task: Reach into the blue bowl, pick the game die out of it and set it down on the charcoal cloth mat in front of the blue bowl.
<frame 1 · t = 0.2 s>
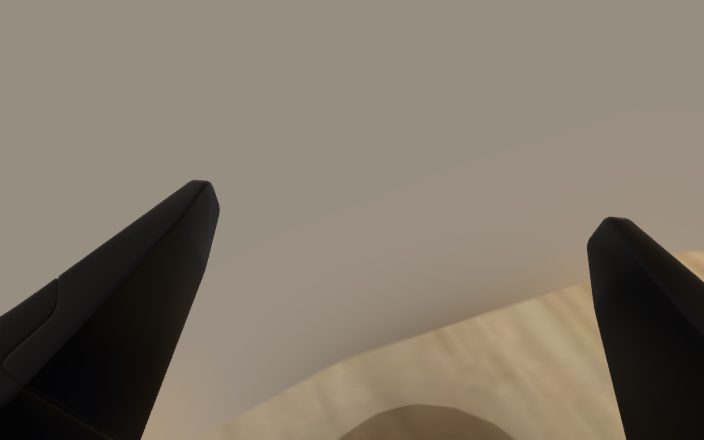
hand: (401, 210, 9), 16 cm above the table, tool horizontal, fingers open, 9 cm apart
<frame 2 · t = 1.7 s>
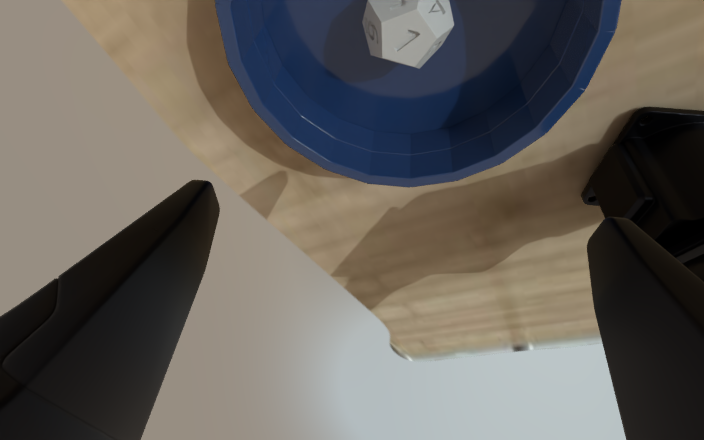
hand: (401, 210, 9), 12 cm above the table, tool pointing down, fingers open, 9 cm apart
game die: (407, 7, 17), resting on blue bowl
blue bowl: (407, 6, 17), on the table
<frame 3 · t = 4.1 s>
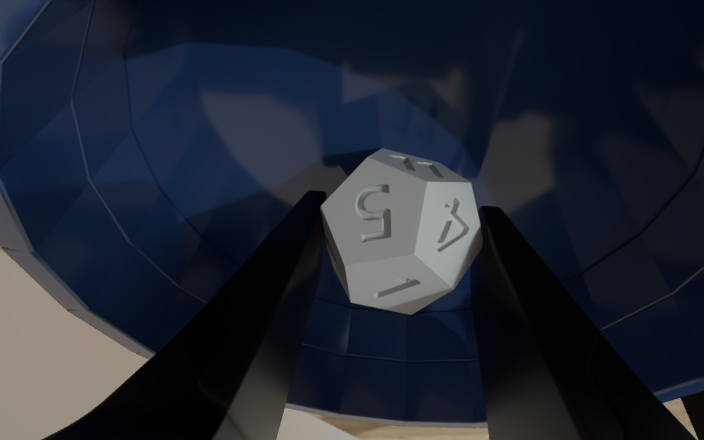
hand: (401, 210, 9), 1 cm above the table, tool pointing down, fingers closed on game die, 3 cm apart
game die: (398, 177, 10), resting on blue bowl, touching gripper
blue bowl: (398, 174, 10), on the table
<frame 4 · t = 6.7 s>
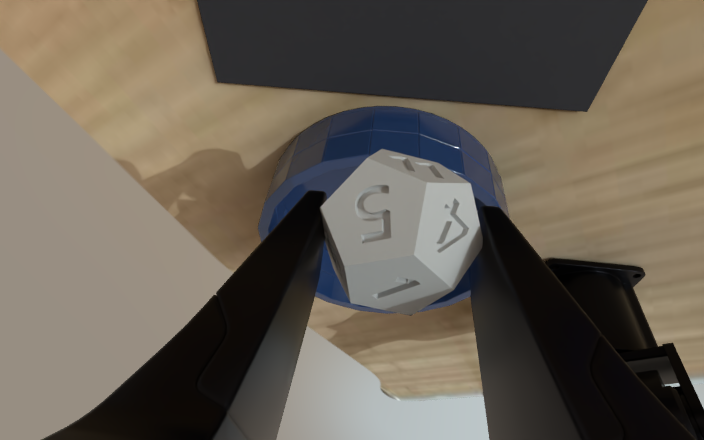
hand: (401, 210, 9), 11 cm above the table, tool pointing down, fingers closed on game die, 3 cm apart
game die: (398, 178, 10), point 10 cm above the table, touching gripper
blue bowl: (384, 202, 25), on the table
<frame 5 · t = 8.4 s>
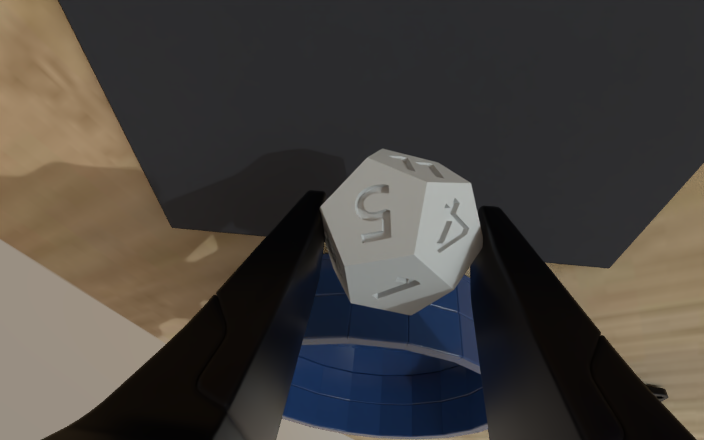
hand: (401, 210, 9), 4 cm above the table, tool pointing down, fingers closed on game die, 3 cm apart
cloth: (402, 110, 12), on the table
game die: (398, 178, 10), point 3 cm above the table, touching gripper
blue bowl: (373, 326, 22), on the table
when the fingers open (1 cm above the table, at t = 9.5 s): game die stays where it is, resting on cloth.
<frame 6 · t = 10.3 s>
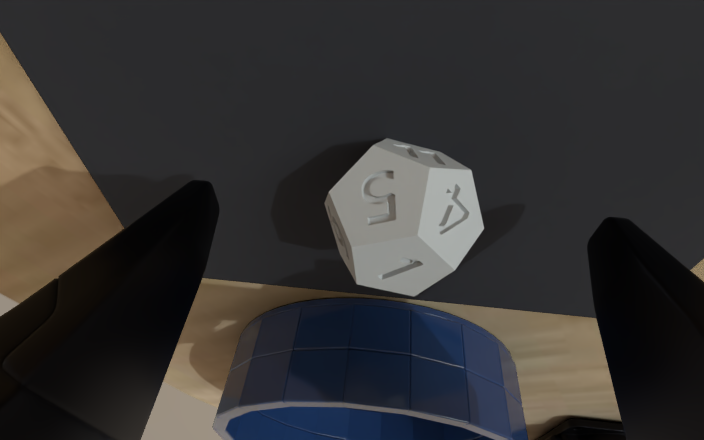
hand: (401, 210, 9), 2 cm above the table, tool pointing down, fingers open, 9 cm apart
cloth: (403, 162, 10), on the table
game die: (401, 167, 10), resting on cloth
blue bowl: (372, 367, 21), on the table
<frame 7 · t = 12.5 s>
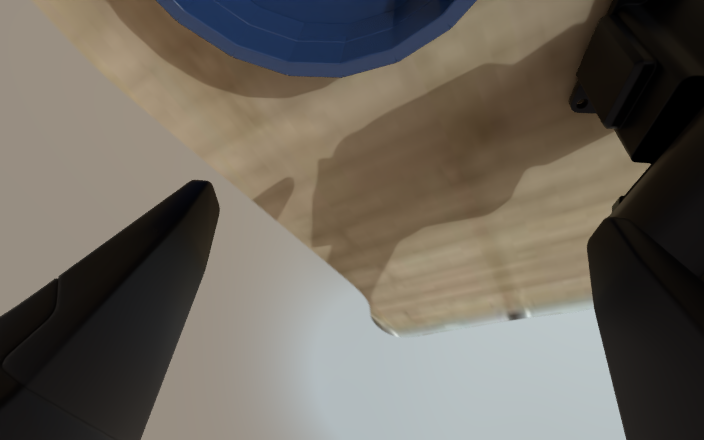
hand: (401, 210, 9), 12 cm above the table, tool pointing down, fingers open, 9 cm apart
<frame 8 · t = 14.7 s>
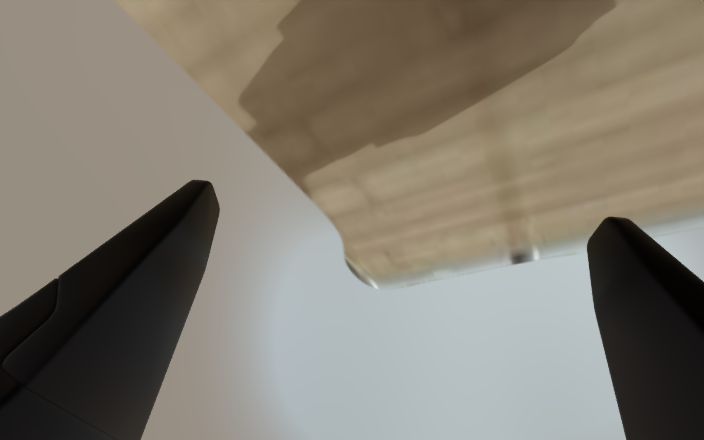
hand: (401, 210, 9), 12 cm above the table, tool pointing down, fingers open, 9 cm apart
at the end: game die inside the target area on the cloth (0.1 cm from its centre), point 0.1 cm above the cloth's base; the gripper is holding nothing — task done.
